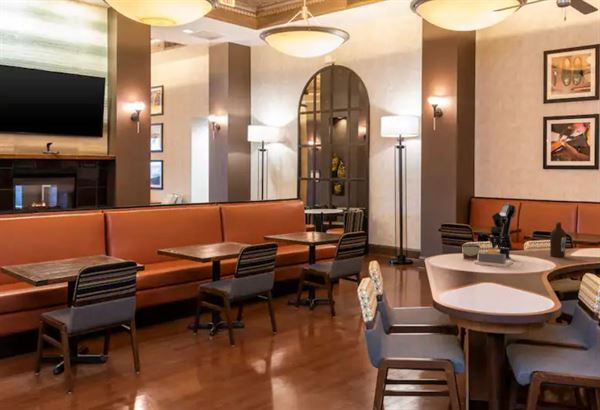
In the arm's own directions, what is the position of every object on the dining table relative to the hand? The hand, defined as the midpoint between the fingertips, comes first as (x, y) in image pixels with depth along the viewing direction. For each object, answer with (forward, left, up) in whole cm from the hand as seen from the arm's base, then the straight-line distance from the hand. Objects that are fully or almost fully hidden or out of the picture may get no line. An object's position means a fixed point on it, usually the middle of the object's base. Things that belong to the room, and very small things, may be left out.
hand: (493, 247), depth 370 cm
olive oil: (-69, -1, -11) cm, 70 cm away
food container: (-4, -24, -11) cm, 27 cm away
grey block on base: (-3, -1, -11) cm, 11 cm away
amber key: (+2, +1, -4) cm, 5 cm away
